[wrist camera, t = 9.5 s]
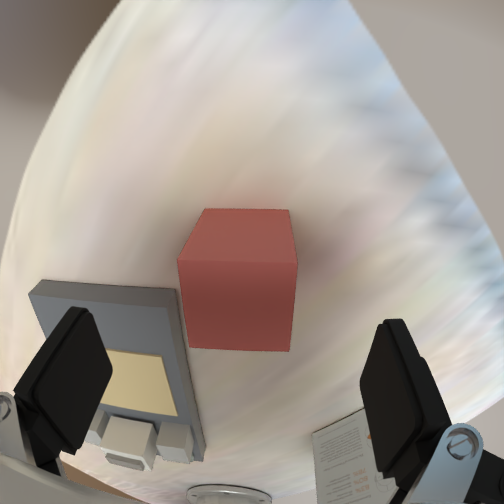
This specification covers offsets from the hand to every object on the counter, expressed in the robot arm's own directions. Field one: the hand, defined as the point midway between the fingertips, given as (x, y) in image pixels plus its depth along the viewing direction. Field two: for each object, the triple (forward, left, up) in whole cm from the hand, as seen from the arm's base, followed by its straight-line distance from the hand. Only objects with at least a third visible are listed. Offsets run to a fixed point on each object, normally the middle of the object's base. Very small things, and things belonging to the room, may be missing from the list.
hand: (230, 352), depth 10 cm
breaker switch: (-18, +10, -7) cm, 21 cm away
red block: (-1, 0, -9) cm, 9 cm away
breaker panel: (-14, +10, -9) cm, 19 cm away
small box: (-20, -11, -9) cm, 24 cm away
